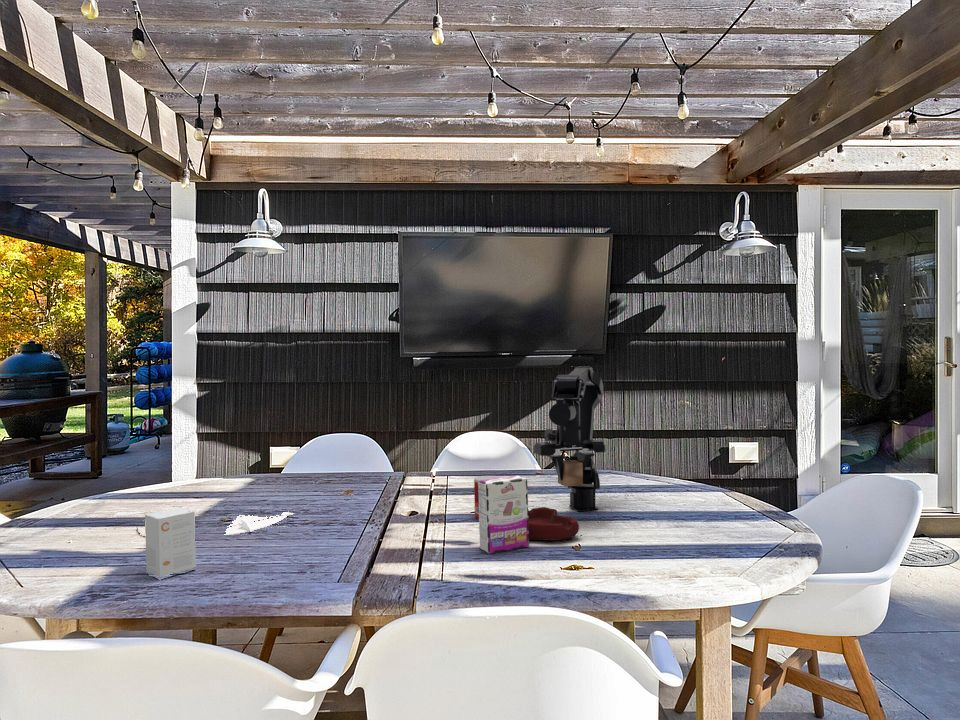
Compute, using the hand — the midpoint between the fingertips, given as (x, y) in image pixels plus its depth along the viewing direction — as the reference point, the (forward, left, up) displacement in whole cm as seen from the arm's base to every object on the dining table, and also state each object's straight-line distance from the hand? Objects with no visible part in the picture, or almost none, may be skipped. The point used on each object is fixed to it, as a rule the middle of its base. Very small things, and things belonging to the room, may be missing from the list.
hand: (570, 479), depth 176 cm
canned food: (+19, -13, -12) cm, 26 cm away
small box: (+97, +8, -12) cm, 98 cm away
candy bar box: (+24, +15, -12) cm, 31 cm away
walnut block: (0, 0, -1) cm, 1 cm away
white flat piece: (+92, -35, -12) cm, 99 cm away
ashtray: (+13, +8, -12) cm, 19 cm away
